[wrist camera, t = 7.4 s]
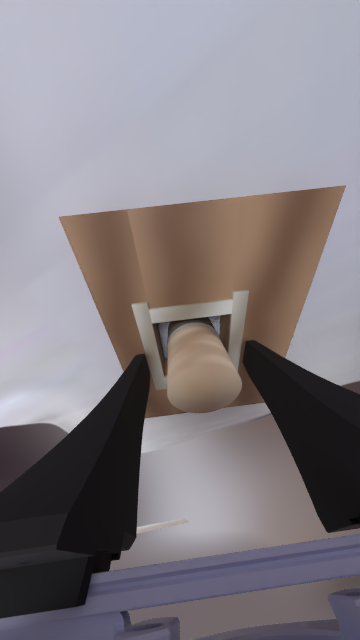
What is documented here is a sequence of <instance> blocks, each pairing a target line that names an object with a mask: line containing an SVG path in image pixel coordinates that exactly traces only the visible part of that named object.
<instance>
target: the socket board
mask: <svg viewBox="0 0 360 640" xmlns="http://www.w3.org/2000/svg"><path fill="white" fill-rule="evenodd" d="M345 187H346V186H337V187H328V188H319V189H310V190H301V191H291V192H282V193H273V194H264V195H255V196H246V197H237V198H227V199H218V200H209V201H200V202H191V203H182V204H173V205H164V206H154V207H145V208H136V209H127V210H118V211H109V212H100V213H90V214H81V215H72V216H63V217H59V219H60V222H61V224H62V226H63V229H64V231H65V233H66V236H67V238H68V241H69V243H70V245H71V248H72V250H73V252H74V255H75V257H76V259H77V262H78V264H79V267H80V269H81V271H82V274H83V276H84V278H85V281H86V283H87V286H88V288H89V290H90V293H91V295H92V297H93V300H94V302H95V305H96V307H97V309H98V312H99V314H100V316H101V319H102V321H103V324H104V326H105V328H106V331H107V333H108V335H109V338H110V340H111V343H112V345H113V347H114V350H115V352H116V354H117V357H118V359H119V362H120V364H121V366H122V369H123V371H125V370H126V368H127V367H128V365H129V364H130V362H131V361H132V360H133V358H134V357H135V355H138V354H145V357H146V360H147V363H148V367H149V370H150V390H149V396H148V402H147V407H146V413H145V418H151V417H158V416H166V415H173V414H181V413H188V412H185V411H182V410H179V409H178V408H176V407H174V406H173V405H172V404H171V403H170V401H169V399H168V396H167V368H168V359H165V358H164V353H163V348H162V343H161V338H160V333H159V329H158V324H157V323H161V322H169V321H177V320H185V319H193V318H202V317H210V316H218V315H221V319H220V340H221V342H222V344H223V346H224V348H225V350H226V351H227V353H228V355H229V357H230V359H231V361H232V363H233V365H234V367H235V368H236V370H237V372H238V374H239V376H240V378H241V381H242V388H241V391H240V393H239V395H238V396H237V398H236V399H235V400H234V401H232V402H231V403H230V404H228V405H227V406H225V407H223V408H226V407H234V406H241V405H249V404H256V403H264V402H265V401H264V400H263V398H262V397H261V395H260V393H259V392H258V390H257V388H256V387H255V385H254V384H253V382H252V380H251V379H250V377H249V375H248V373H247V371H246V369H245V367H244V364H243V362H242V361H243V355H244V349H245V343H246V341H250V340H255V341H257V342H259V343H261V344H262V345H264V346H266V347H267V348H269V349H270V350H272V351H274V352H275V353H277V354H279V355H280V356H282V357H284V358H285V356H286V354H287V351H288V348H289V345H290V342H291V339H292V337H293V334H294V331H295V328H296V325H297V323H298V320H299V317H300V314H301V311H302V308H303V306H304V303H305V300H306V297H307V294H308V291H309V289H310V286H311V283H312V280H313V277H314V274H315V272H316V269H317V266H318V263H319V260H320V257H321V255H322V252H323V249H324V246H325V243H326V241H327V238H328V235H329V232H330V229H331V226H332V224H333V221H334V218H335V215H336V212H337V209H338V207H339V204H340V201H341V198H342V195H343V192H344V190H345Z"/></svg>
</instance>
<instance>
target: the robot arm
mask: <svg viewBox="0 0 360 640" xmlns="http://www.w3.org/2000/svg"><path fill="white" fill-rule="evenodd" d="M242 362H243V364H244V367H245V369H246V371H247V373H248V375H249V377H250V379H251V380H252V382H253V384H254V385H255V387H256V388H257V390H258V392H259V393H260V395H261V397H262V398H263V400H264V401H265V403H266V405H267V406H268V408H269V410H270V411H271V413H272V415H273V417H274V419H275V421H276V423H277V425H278V427H279V429H280V431H281V433H282V435H283V437H284V439H285V441H286V443H287V445H288V447H289V449H290V452H291V454H292V456H293V458H294V461H295V463H296V465H297V467H298V469H299V471H300V474H301V476H302V479H303V481H304V483H305V486H306V488H307V490H308V493H309V495H310V498H311V499H312V502H313V505H314V507H315V510H316V512H317V514H318V517H319V518H320V520H321V522H322V524H323V526H324V527H325V529H326V531H327V532H328V533H331V532H337V531H344V530H351V529H358V528H360V394H357V393H355V392H353V391H350V390H348V389H345V388H343V387H341V386H339V385H336V384H334V383H332V382H330V381H328V380H326V379H323V378H321V377H319V376H317V375H315V374H313V373H311V372H309V371H307V370H305V369H304V368H302V367H300V366H298V365H296V364H294V363H292V362H291V361H289V360H287V359H285V358H284V357H282V356H280V355H279V354H277V353H275V352H274V351H272V350H270V349H269V348H267V347H266V346H264V345H262V344H261V343H259V342H257V341H255V340H250V341H246V343H245V349H244V355H243V361H242ZM149 390H150V370H149V367H148V363H147V360H146V357H145V354H138V355H135V357H134V358H133V360H132V361H131V362H130V364H129V365H128V367H127V368H126V370H125V371H124V372H123V374H122V375H121V376H120V378H119V379H118V381H117V382H116V383H115V384H114V386H113V387H112V388H111V389H110V391H109V392H108V393H107V394H106V396H105V397H104V398H103V399H102V400H101V401H100V403H99V404H98V405H97V406H96V407H95V408H94V409H93V410H92V411H91V412H90V413H89V414H88V415H87V416H86V417H85V419H84V420H82V421H81V422H80V423H79V424H78V425H77V426H76V427H75V428H74V429H73V430H72V431H71V432H70V433H69V434H68V435H67V436H66V437H65V438H64V439H63V440H62V441H61V442H60V443H58V444H57V445H56V446H55V447H54V448H53V449H52V450H51V451H49V452H48V453H47V454H46V455H45V456H44V457H43V458H41V459H40V460H39V461H38V462H37V463H36V464H34V465H33V466H32V467H31V468H30V469H28V470H27V471H26V472H25V473H23V474H22V475H21V476H20V477H19V478H17V479H16V480H15V481H14V482H12V483H11V484H10V485H9V486H8V487H6V488H5V489H4V490H3V491H1V492H0V640H180V621H179V619H178V617H162V618H152V619H148V620H144V621H141V622H138V623H136V624H134V625H131V622H130V616H129V613H128V610H135V609H142V608H148V607H155V606H161V605H168V604H174V603H181V602H187V601H194V600H200V599H207V598H213V597H219V596H226V595H233V594H239V593H246V592H252V591H258V590H265V589H271V588H278V587H285V586H291V585H297V584H304V583H310V582H317V581H324V580H330V579H337V578H343V577H350V576H356V575H360V534H355V535H349V536H342V537H335V538H328V539H322V540H315V541H309V542H302V543H296V544H288V545H282V546H276V547H268V548H261V549H255V550H248V551H242V552H235V553H229V554H222V555H215V556H208V557H201V558H194V559H188V560H182V561H174V562H168V563H161V564H154V565H148V566H141V567H134V568H127V569H121V570H114V571H109V569H110V564H111V561H112V560H119V559H120V555H121V551H125V550H129V549H130V547H131V546H132V544H133V542H134V541H135V538H136V530H137V505H138V487H139V486H138V485H139V470H140V469H139V468H140V457H141V444H142V433H143V425H144V419H145V413H146V407H147V402H148V396H149ZM328 600H329V603H330V605H331V607H332V609H333V612H334V614H335V616H336V618H337V619H327V620H316V621H304V622H292V623H281V624H272V625H263V626H255V627H248V628H242V629H237V630H232V631H226V632H222V633H218V634H213V635H209V636H205V637H200V638H197V639H192V640H360V588H351V589H344V590H340V591H337V592H333V593H330V594H328Z"/></svg>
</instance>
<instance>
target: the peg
mask: <svg viewBox="0 0 360 640" xmlns="http://www.w3.org/2000/svg"><path fill="white" fill-rule="evenodd" d="M167 351H168V368H167V396H168V399H169V401H170V403H171V404H172V405H173V406H174V407H176V408H178V409H179V410H182V411H185V412H190V413H206V412H212V411H215V410H218V409H221V408H223V407H225V406H227V405H228V404H230V403H231V402H232V401H234V400H235V399H236V398H237V396H238V395H239V393H240V391H241V388H242V381H241V378H240V376H239V374H238V372H237V370H236V368H235V367H234V365H233V363H232V361H231V359H230V357H229V355H228V353H227V351H226V350H225V348H224V346H223V344H222V342H221V340H220V337H219V335H218V333H217V331H216V330H215V329H214V327H213V325H212V323H211V321H210V319H209V318H208V317H202V318H193V319H185V320H177V321H171V322H170V324H169V327H168V341H167Z"/></svg>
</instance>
